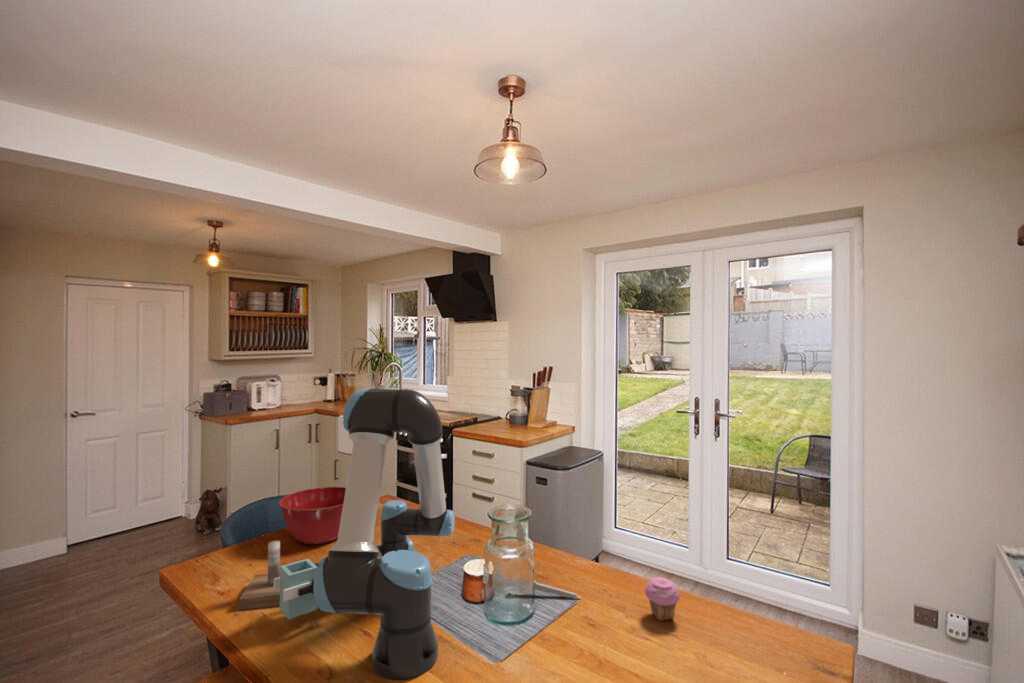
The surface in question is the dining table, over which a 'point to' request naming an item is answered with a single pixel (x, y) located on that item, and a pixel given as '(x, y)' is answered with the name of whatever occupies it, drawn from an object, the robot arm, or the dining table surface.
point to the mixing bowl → (314, 514)
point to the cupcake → (662, 597)
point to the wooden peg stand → (264, 583)
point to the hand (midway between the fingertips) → (279, 589)
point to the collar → (293, 577)
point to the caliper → (555, 591)
